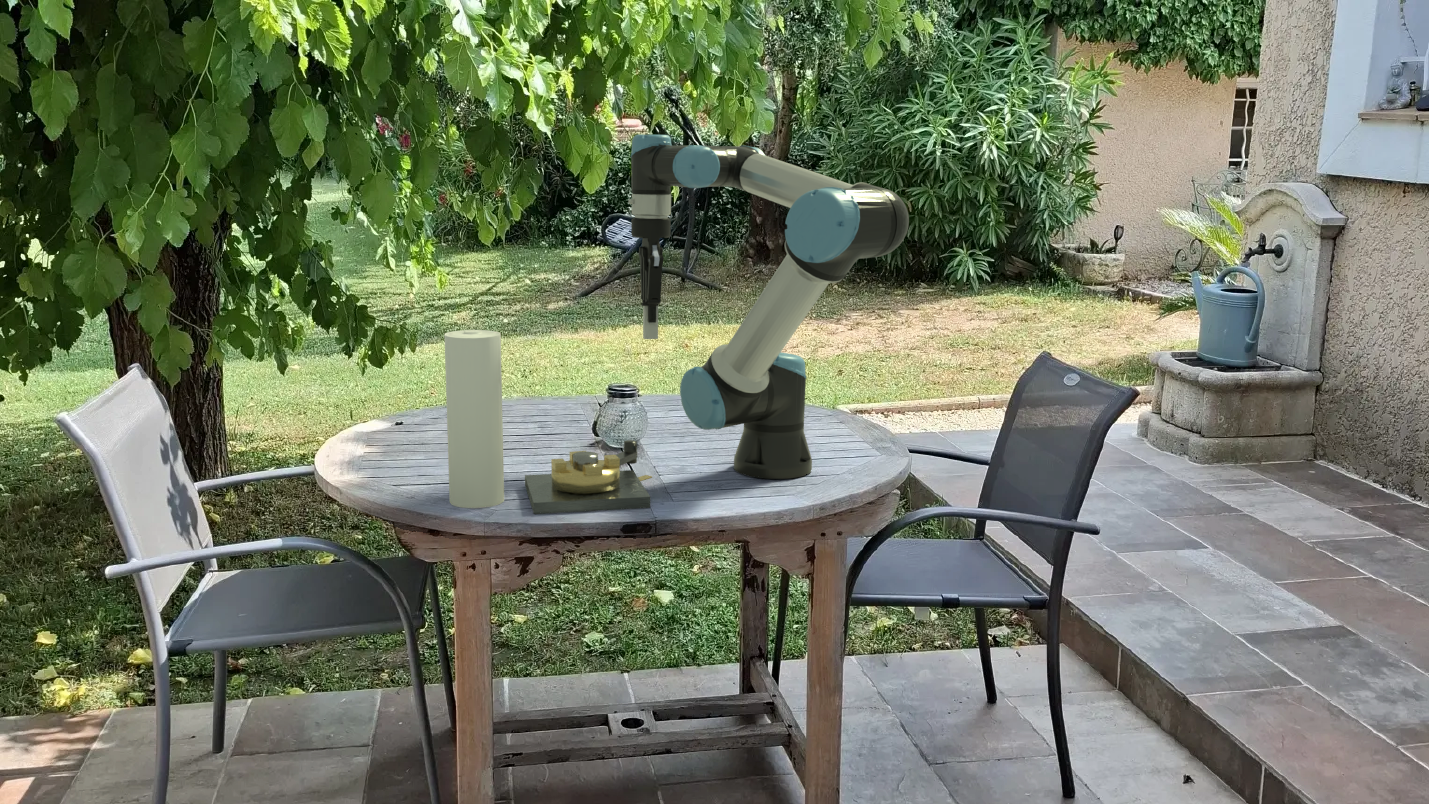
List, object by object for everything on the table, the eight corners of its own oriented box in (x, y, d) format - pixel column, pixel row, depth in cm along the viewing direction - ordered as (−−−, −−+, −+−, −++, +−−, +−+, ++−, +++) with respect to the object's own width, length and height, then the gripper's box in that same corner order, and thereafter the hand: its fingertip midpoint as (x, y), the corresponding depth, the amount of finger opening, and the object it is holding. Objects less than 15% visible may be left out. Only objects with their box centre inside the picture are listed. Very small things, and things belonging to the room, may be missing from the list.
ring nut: (606, 458, 235) (605, 430, 234) (661, 465, 230) (661, 437, 229) (538, 487, 214) (538, 458, 213) (598, 496, 209) (597, 466, 208)
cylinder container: (507, 493, 219) (504, 327, 213) (500, 508, 210) (496, 335, 204) (454, 492, 219) (449, 326, 213) (445, 508, 209) (439, 334, 203)
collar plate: (650, 475, 232) (651, 465, 232) (672, 506, 212) (672, 495, 212) (523, 481, 227) (523, 471, 226) (533, 514, 207) (533, 502, 206)
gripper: (626, 214, 240) (626, 333, 245) (637, 218, 227) (637, 344, 232) (663, 214, 241) (663, 333, 246) (677, 218, 229) (676, 343, 234)
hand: (650, 338), depth 239 cm, fingers closed
